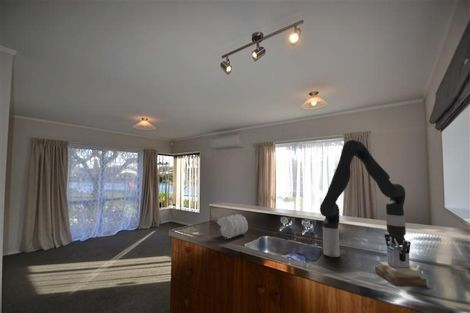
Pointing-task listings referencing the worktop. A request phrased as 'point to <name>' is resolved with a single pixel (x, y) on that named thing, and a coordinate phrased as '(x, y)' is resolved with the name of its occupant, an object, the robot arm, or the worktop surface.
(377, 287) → the worktop surface
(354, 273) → the worktop surface
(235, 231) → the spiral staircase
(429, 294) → the worktop surface
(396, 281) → the plinth
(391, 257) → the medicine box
